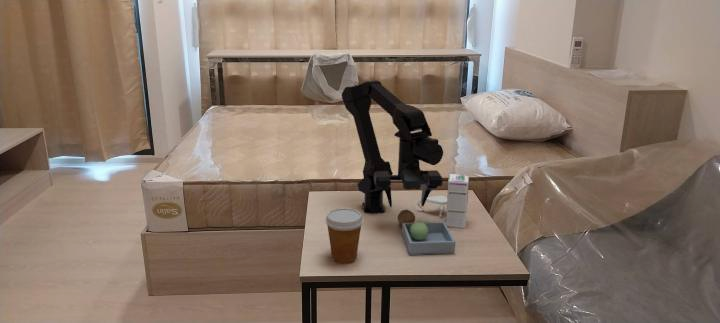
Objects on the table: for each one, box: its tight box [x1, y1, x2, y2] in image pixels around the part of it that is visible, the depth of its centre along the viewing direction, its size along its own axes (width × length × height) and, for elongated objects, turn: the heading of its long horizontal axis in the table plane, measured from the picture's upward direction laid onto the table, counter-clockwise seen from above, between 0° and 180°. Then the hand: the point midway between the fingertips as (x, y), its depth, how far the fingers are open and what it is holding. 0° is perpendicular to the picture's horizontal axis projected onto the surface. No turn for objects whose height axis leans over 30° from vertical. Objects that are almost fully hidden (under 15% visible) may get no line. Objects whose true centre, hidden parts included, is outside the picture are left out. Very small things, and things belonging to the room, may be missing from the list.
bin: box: [401, 221, 457, 256], centre depth 144 cm, size 12×12×4 cm
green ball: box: [410, 221, 428, 240], centre depth 146 cm, size 5×5×5 cm
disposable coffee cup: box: [324, 207, 364, 264], centre depth 135 cm, size 10×10×12 cm
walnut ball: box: [397, 209, 416, 227], centre depth 154 cm, size 5×5×5 cm
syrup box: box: [445, 173, 470, 229], centre depth 155 cm, size 6×6×14 cm
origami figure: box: [416, 195, 447, 218], centre depth 163 cm, size 12×8×5 cm
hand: (406, 206), depth 153 cm, fingers open, 9 cm apart
